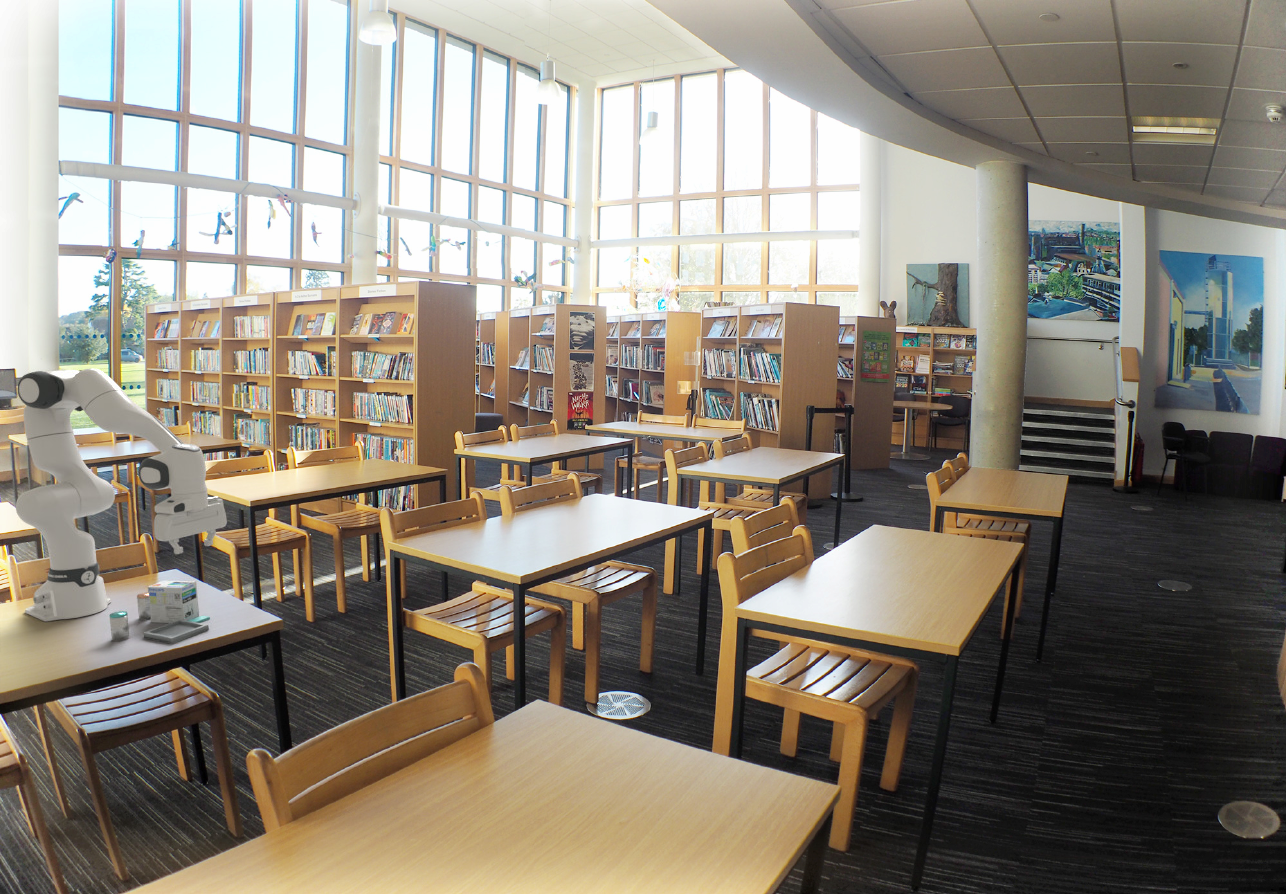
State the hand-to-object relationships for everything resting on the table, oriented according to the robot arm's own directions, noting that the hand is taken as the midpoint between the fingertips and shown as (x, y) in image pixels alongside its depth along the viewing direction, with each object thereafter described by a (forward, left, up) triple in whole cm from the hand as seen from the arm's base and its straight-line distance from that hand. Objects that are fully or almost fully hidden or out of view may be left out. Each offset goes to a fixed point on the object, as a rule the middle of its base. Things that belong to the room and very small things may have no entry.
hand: (194, 549), depth 223 cm
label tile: (-1, 0, -21) cm, 21 cm away
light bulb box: (-8, -2, -22) cm, 23 cm away
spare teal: (-8, -18, -21) cm, 29 cm away
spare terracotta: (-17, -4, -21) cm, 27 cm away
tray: (+3, -10, -21) cm, 23 cm away
